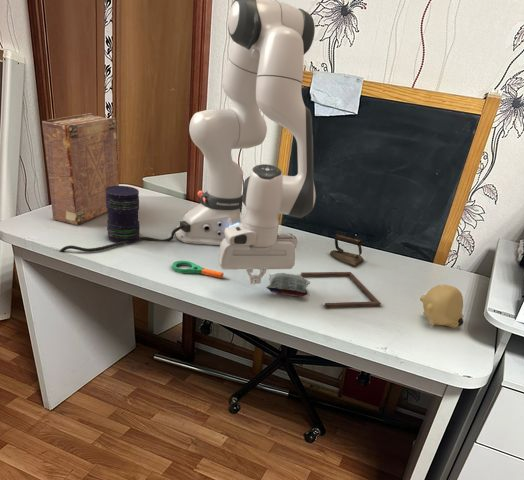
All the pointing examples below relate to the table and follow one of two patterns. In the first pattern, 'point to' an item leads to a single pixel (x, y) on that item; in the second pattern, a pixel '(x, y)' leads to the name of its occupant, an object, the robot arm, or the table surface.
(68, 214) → the book
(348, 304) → the bay
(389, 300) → the table surface
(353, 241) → the clothes iron
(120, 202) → the dark blue cylinder
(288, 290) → the packaged food
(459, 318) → the toy pig
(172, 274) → the table surface
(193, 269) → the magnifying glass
